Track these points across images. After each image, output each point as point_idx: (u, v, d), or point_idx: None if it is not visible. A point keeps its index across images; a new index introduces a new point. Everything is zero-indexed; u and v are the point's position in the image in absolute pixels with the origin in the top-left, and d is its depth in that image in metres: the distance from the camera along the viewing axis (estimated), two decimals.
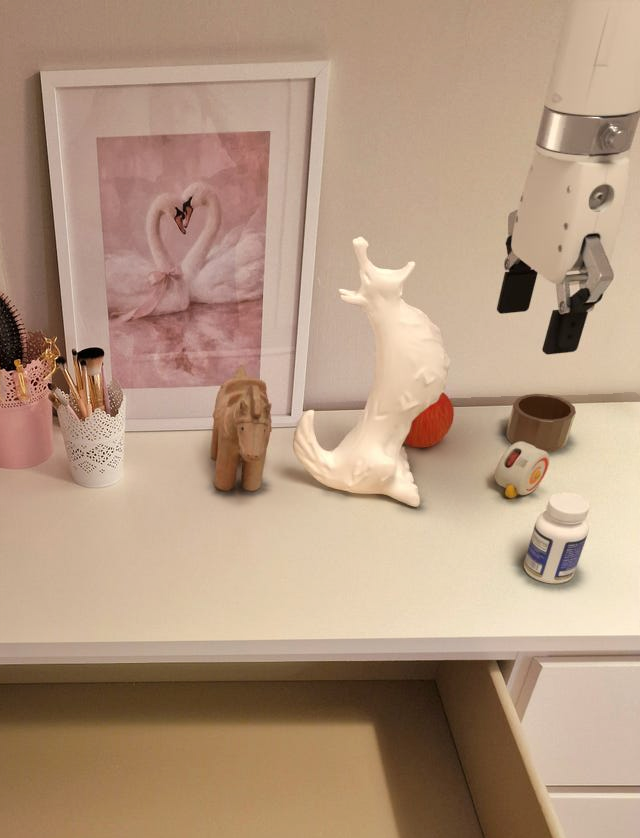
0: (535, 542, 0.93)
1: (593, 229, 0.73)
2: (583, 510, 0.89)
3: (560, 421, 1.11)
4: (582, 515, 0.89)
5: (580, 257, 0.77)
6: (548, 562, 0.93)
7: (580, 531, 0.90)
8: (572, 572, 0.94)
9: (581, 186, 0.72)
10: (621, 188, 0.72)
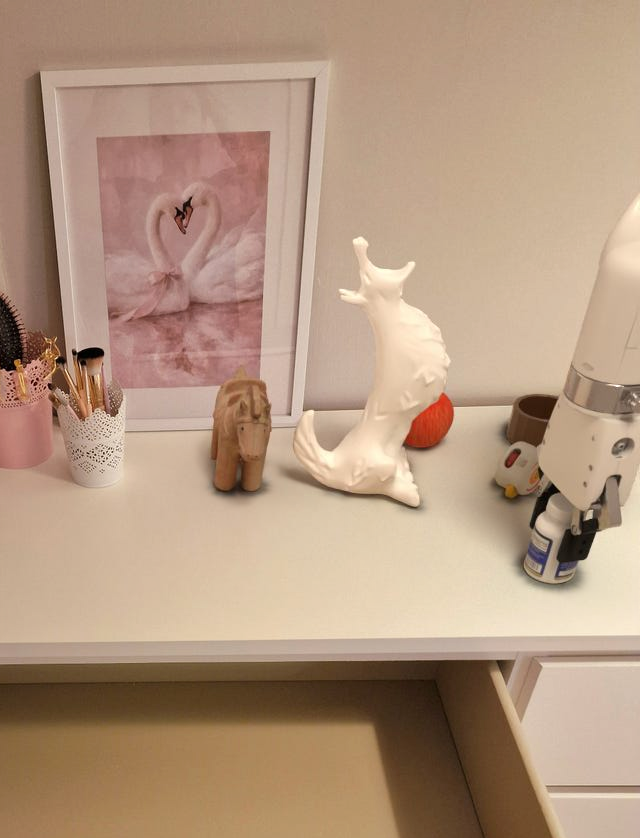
0: (535, 542, 0.93)
1: (615, 471, 0.82)
2: None
3: None
4: None
5: None
6: (548, 562, 0.93)
7: None
8: (572, 572, 0.94)
9: (605, 439, 0.80)
10: None
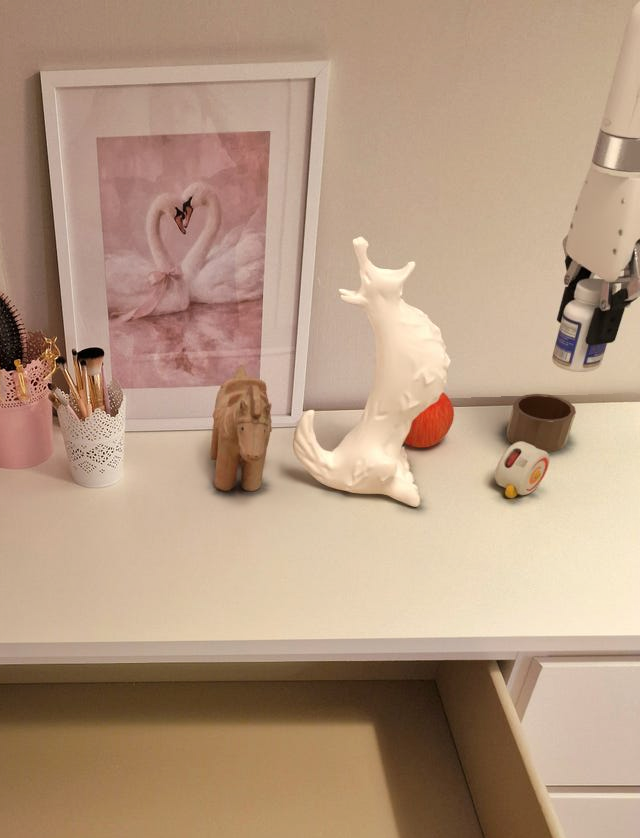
0: (564, 330, 0.96)
1: None
2: None
3: (560, 421, 1.11)
4: None
5: None
6: (577, 348, 0.96)
7: None
8: (600, 360, 0.97)
9: (634, 198, 0.84)
10: None
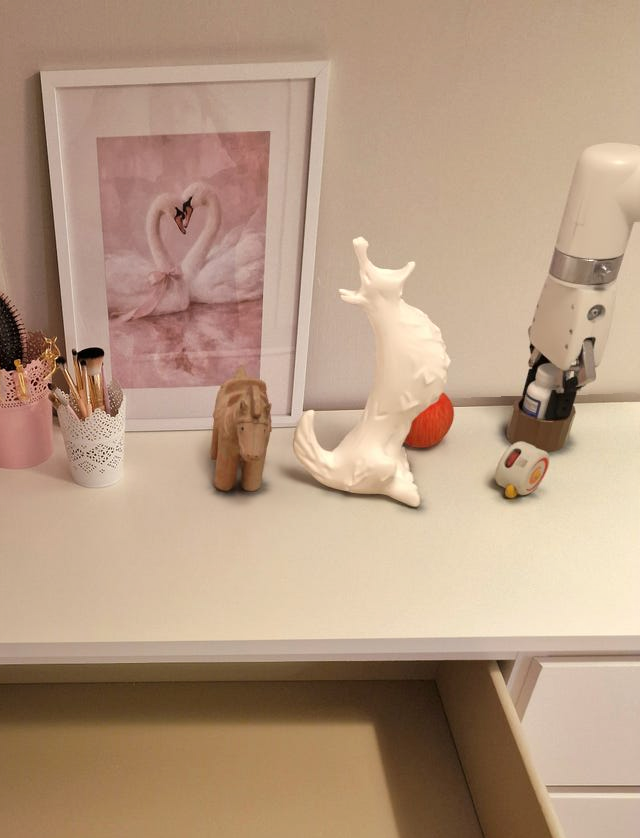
0: (527, 405, 1.13)
1: (590, 334, 1.02)
2: None
3: (560, 421, 1.11)
4: None
5: None
6: None
7: None
8: None
9: (582, 306, 1.00)
10: (610, 306, 1.01)
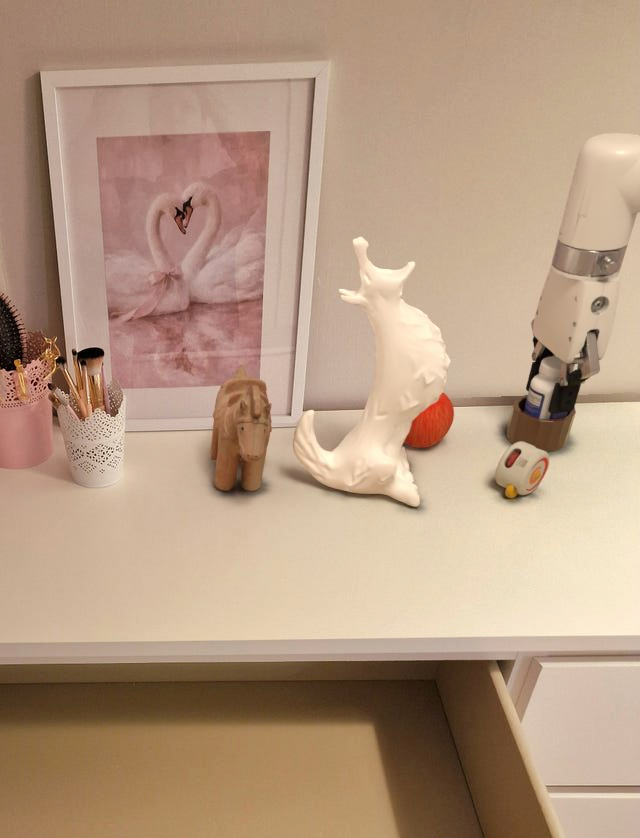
0: (530, 399, 1.12)
1: (594, 326, 1.01)
2: None
3: (560, 421, 1.11)
4: None
5: None
6: (541, 415, 1.12)
7: None
8: None
9: (585, 297, 1.00)
10: (614, 298, 1.00)
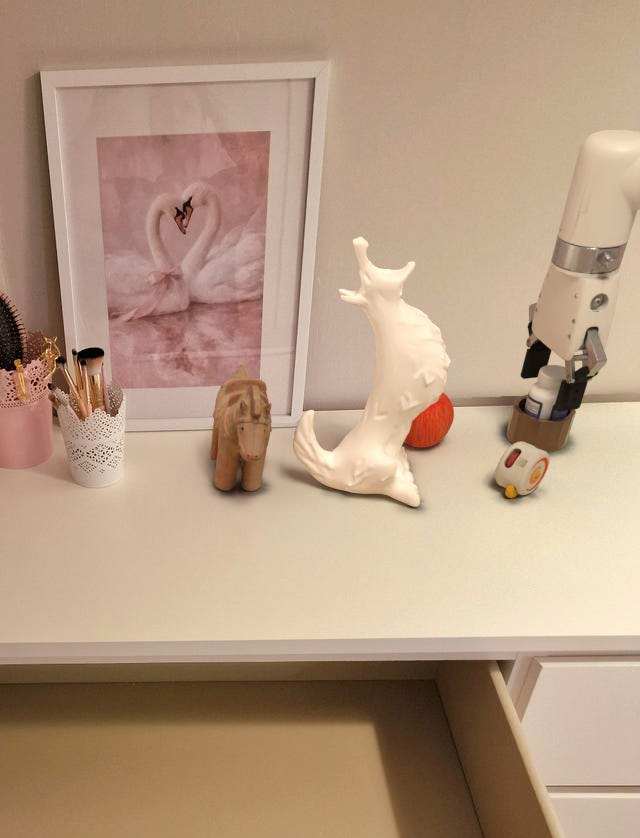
0: (528, 407, 1.13)
1: (593, 324, 1.01)
2: None
3: (560, 421, 1.11)
4: None
5: (583, 342, 1.05)
6: None
7: None
8: None
9: (585, 295, 0.99)
10: (613, 295, 1.00)
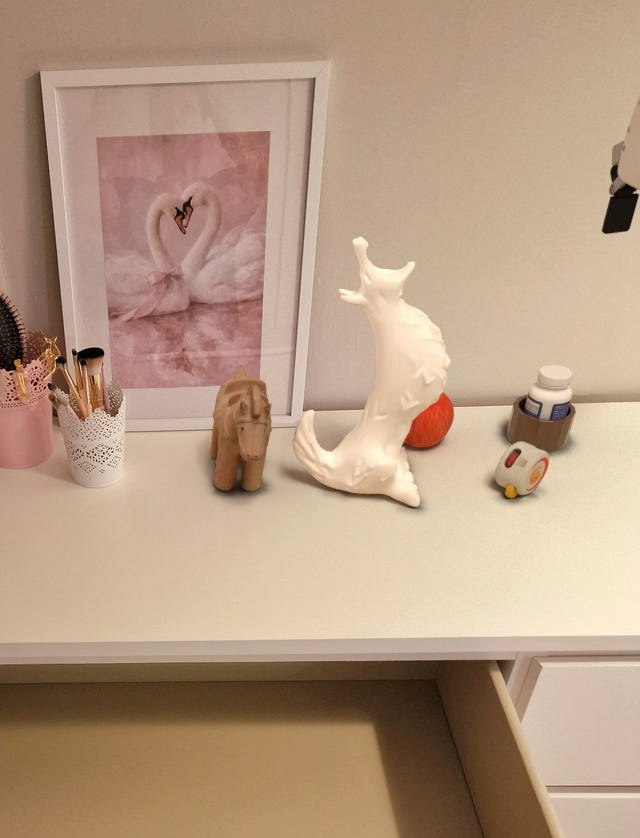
0: (528, 407, 1.13)
1: None
2: (567, 376, 1.09)
3: (560, 421, 1.11)
4: (566, 380, 1.09)
5: None
6: None
7: (565, 394, 1.10)
8: None
9: None
10: None
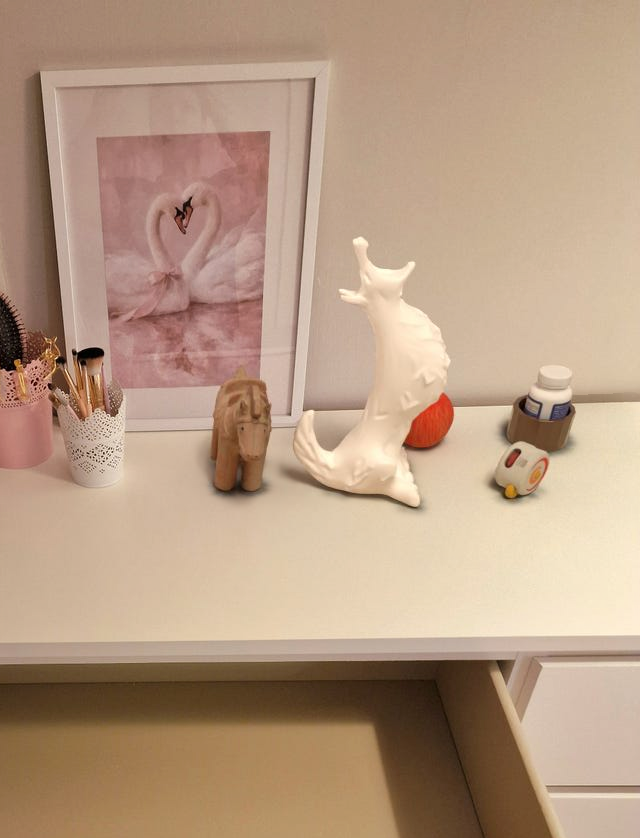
0: (528, 407, 1.13)
1: None
2: (567, 376, 1.09)
3: (560, 421, 1.11)
4: (566, 380, 1.09)
5: None
6: None
7: (565, 394, 1.10)
8: None
9: None
10: None
